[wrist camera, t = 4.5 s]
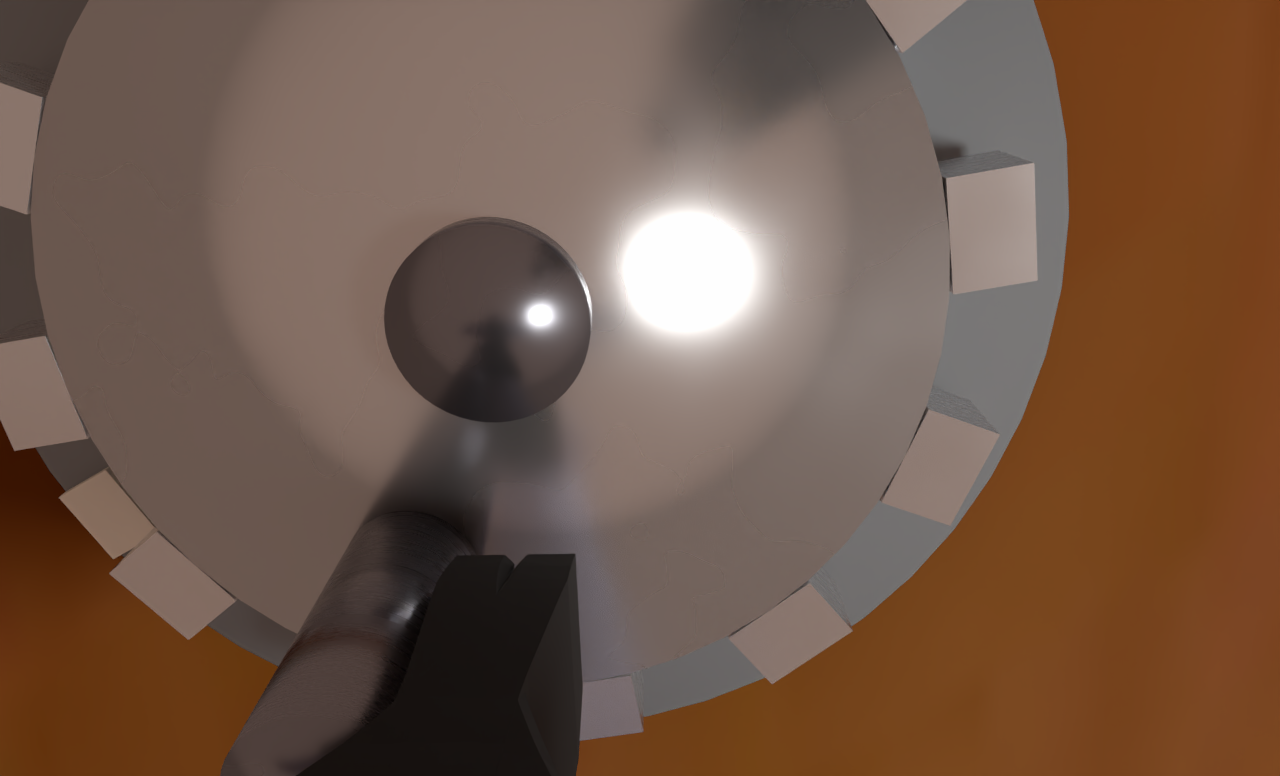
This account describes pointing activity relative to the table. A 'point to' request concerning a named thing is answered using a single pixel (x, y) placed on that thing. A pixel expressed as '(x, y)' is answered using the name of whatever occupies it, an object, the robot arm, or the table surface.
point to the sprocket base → (968, 367)
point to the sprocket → (498, 316)
